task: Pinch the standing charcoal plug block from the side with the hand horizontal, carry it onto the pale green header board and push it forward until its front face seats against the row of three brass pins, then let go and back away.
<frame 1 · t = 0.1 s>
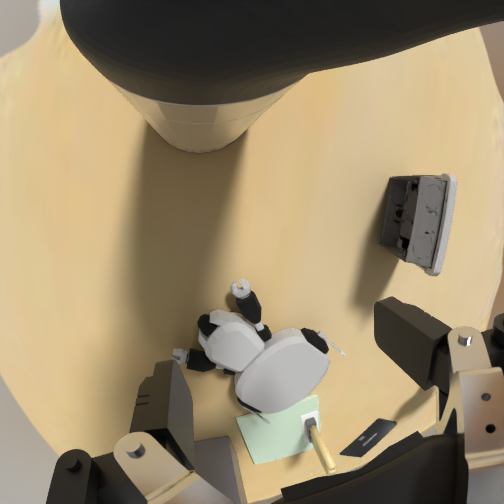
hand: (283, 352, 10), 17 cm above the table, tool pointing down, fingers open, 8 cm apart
solid state drive: (367, 436, 41), on the table
electrical switch: (390, 213, 29), on the table
plug block: (215, 448, 34), on the table
robot toy: (254, 345, 30), on the table
header board: (283, 433, 35), on the table
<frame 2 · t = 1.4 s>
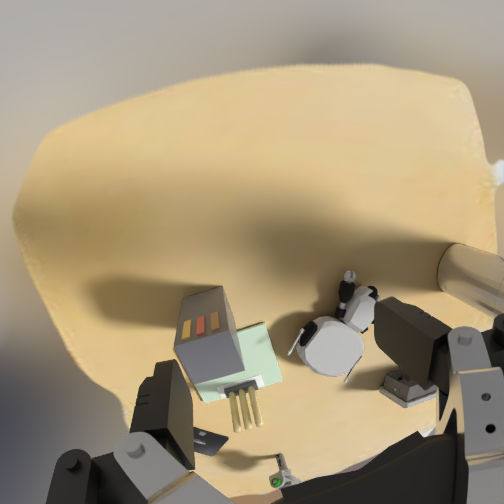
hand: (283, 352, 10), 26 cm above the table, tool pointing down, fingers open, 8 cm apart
solid state drive: (196, 437, 44), on the table
electrical switch: (398, 374, 47), on the table
plug block: (208, 308, 38), on the table
mechanical component: (279, 454, 47), on the table
robot toy: (337, 321, 41), on the table
header board: (232, 365, 40), on the table
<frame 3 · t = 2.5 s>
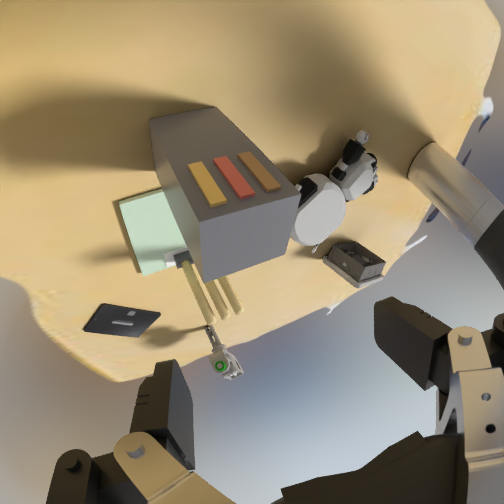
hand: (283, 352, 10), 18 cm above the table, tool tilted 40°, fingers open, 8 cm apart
solid state drive: (121, 318, 37), on the table
electrical switch: (341, 246, 53), on the table
plug block: (184, 139, 22), on the table
mechanical component: (207, 325, 51), on the table
robot toy: (320, 180, 35), on the table
header board: (190, 223, 30), on the table
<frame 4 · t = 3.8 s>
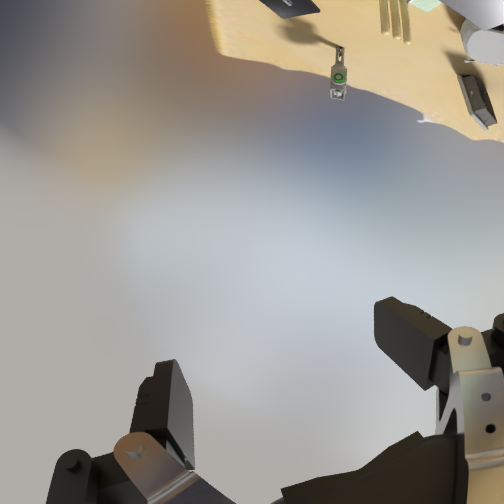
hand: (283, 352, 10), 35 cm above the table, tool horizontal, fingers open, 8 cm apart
electrical switch: (475, 82, 35), on the table
mechanical component: (340, 47, 42), on the table
robot toy: (503, 31, 16), on the table
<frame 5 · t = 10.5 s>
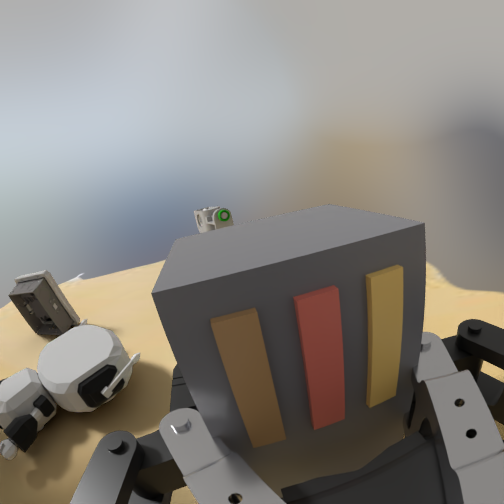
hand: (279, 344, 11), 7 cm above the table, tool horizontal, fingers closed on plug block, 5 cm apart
electrical switch: (54, 332, 33), on the table
plug block: (313, 476, 10), on the table, touching gripper
mechanical component: (224, 271, 46), on the table
robot toy: (67, 407, 18), on the table
when the fingers open (8 cm above the table, at t = 15.8 s): plug block stays where it is, resting on header board.
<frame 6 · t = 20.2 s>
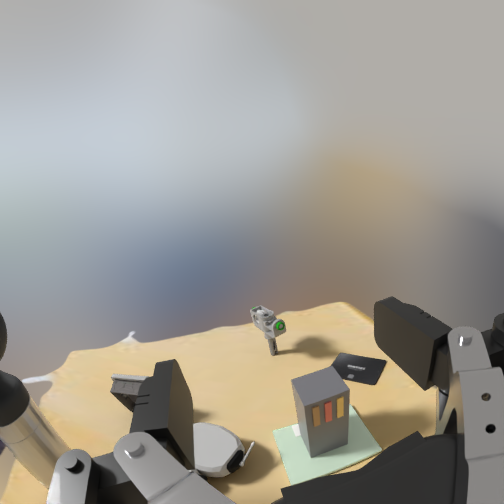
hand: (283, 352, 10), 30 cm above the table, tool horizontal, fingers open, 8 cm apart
solid state drive: (356, 370, 48), on the table
electrical switch: (150, 411, 46), on the table
plug block: (323, 439, 34), point 1 cm above the table, touching header board
mechanical component: (274, 354, 59), on the table
robot toy: (201, 472, 32), on the table
header board: (324, 443, 33), on the table
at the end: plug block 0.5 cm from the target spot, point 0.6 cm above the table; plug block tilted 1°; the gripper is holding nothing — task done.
